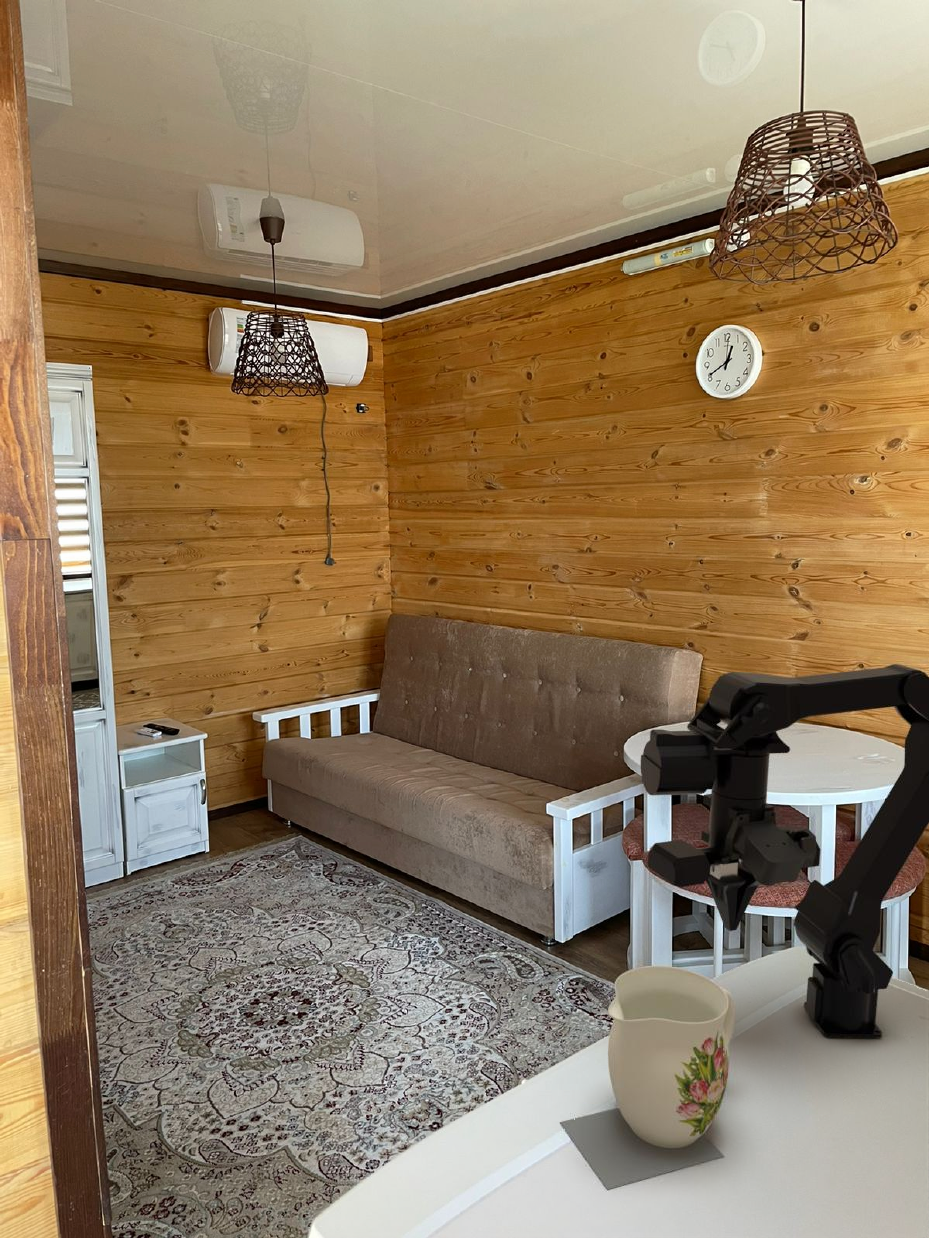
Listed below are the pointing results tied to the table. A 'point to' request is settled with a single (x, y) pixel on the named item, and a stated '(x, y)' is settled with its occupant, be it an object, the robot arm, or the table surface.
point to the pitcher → (669, 1052)
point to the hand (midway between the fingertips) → (730, 929)
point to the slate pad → (630, 1150)
